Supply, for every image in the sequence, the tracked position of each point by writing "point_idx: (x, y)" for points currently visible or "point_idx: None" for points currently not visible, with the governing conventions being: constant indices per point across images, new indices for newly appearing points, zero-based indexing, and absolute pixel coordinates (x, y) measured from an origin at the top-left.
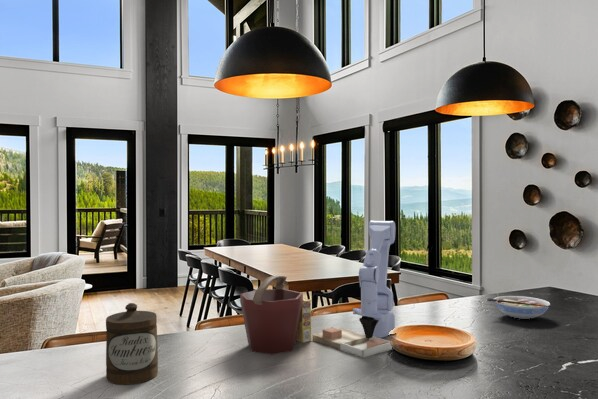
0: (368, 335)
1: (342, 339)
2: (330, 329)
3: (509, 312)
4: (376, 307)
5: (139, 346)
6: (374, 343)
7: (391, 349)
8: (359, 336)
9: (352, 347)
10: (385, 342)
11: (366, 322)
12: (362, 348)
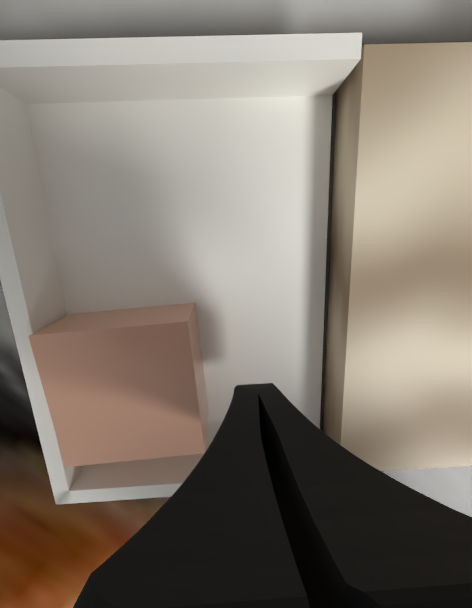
0: (231, 402)
1: (455, 203)
2: None
3: None
4: None
5: None
6: (75, 331)
7: None
8: (400, 406)
9: (136, 41)
10: (63, 442)
11: (205, 557)
12: (210, 266)
